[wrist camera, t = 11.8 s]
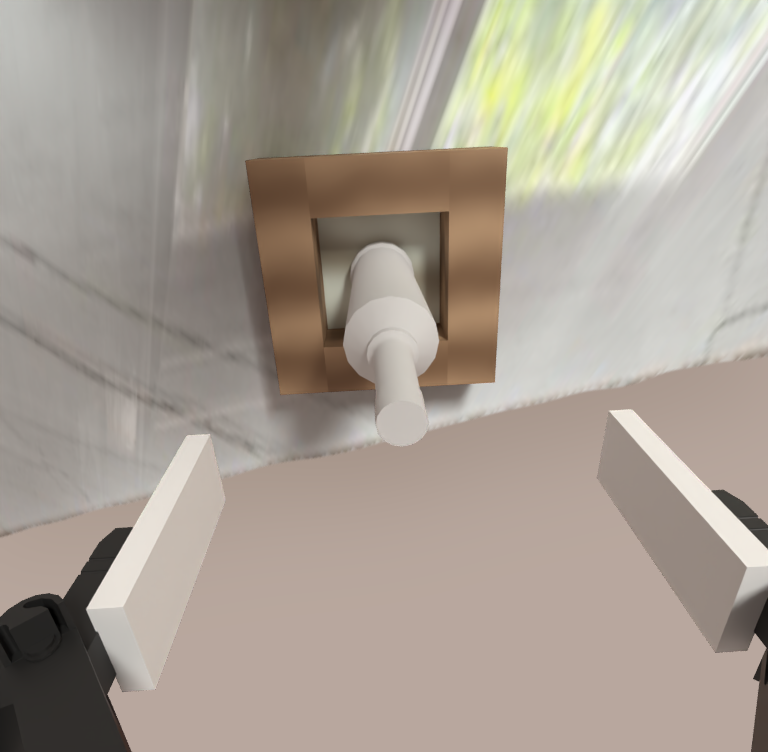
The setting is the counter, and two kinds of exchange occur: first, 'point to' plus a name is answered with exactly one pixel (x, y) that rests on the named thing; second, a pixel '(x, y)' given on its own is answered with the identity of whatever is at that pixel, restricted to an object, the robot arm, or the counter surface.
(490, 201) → the frame
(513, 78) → the counter surface
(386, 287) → the bottle
